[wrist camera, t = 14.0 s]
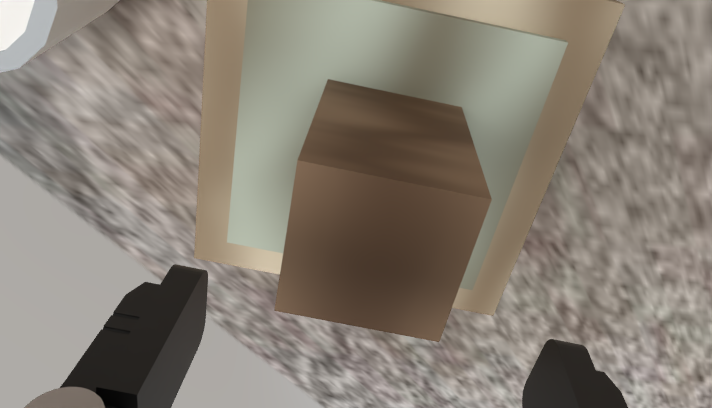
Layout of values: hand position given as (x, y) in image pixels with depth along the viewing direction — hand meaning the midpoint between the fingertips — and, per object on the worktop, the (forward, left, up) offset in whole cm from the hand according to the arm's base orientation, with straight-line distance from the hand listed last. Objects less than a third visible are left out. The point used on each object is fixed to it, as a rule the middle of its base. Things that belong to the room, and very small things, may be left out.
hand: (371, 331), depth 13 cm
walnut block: (0, 0, -10) cm, 10 cm away
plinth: (0, 0, -14) cm, 14 cm away
